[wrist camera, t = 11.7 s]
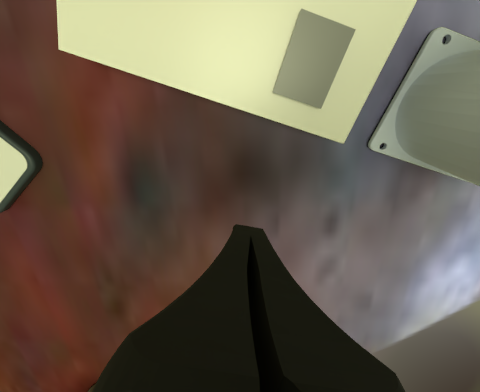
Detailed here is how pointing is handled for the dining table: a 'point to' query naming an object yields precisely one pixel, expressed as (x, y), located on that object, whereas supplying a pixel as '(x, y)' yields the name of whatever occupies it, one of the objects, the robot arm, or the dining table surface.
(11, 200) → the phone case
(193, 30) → the socket plate
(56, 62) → the dining table surface
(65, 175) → the dining table surface
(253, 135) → the dining table surface
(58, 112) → the dining table surface
